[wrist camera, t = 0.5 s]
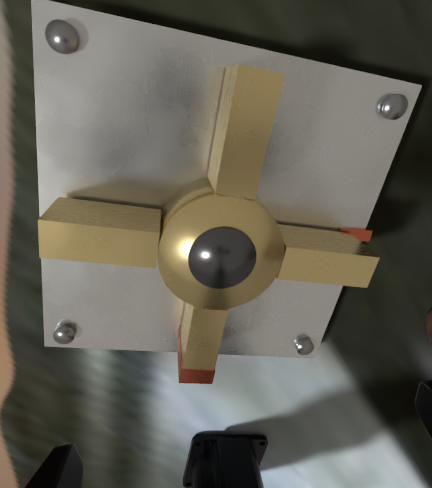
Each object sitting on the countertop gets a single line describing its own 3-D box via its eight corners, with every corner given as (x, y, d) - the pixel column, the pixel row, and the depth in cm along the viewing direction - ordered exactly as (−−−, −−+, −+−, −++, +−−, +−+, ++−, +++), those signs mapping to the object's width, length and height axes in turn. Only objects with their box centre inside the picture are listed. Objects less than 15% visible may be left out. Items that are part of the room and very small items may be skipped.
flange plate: (313, 346, 26) (322, 362, 24) (50, 333, 22) (42, 351, 21) (414, 86, 18) (435, 87, 17) (41, 2, 15) (27, -6, 13)
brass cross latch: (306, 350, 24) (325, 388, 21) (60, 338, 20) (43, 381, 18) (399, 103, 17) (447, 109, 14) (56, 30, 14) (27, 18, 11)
